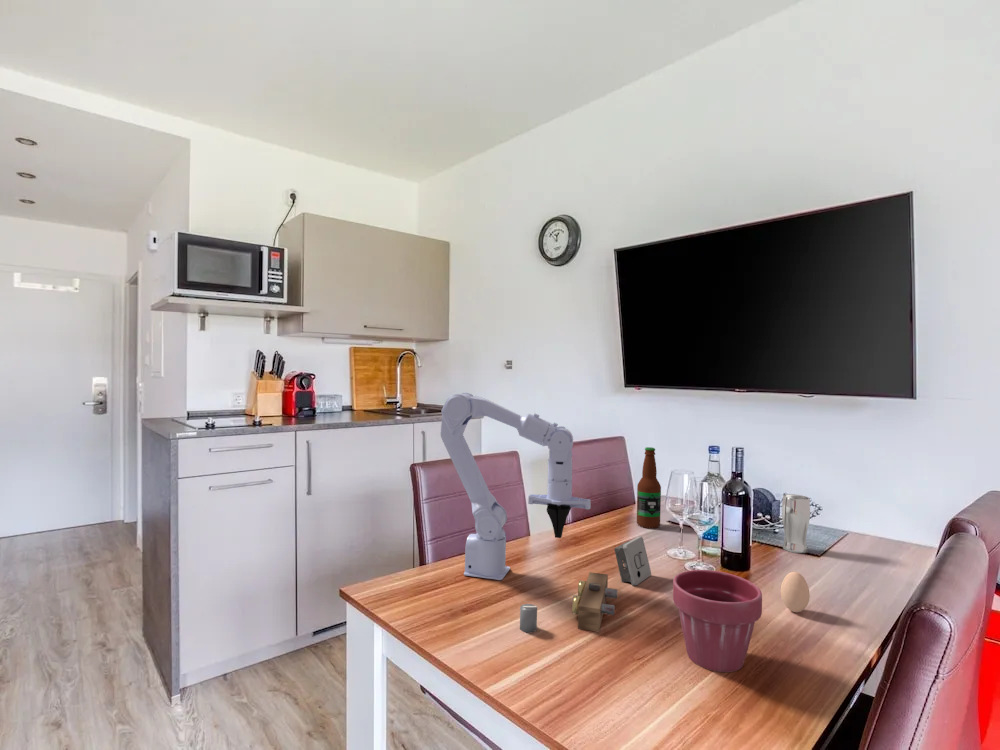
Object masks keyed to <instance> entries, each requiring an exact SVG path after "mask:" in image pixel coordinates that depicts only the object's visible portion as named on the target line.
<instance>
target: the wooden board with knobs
mask: <svg viewBox="0 0 1000 750" xmlns="http://www.w3.org/2000/svg"><path fill="white" fill-rule="evenodd" d="M608 575H609V574H607V573H600V572H591V571H589V573H588V576H587V578H586V584H585V588H584V591H583V594H582V597H581V600H580V603H579V606H578V614H577V629H580V630H585V631H592V632H598V633H599V632H600V629H601V626H602V620H603V615H604V614H603V613H601V605H602V604H606V602H607V598H608V597H605V588H608V586H609V584H608V581H609V579H608V578H609V577H608Z"/></svg>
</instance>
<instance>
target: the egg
mask: <svg viewBox="0 0 1000 750" xmlns="http://www.w3.org/2000/svg"><path fill="white" fill-rule="evenodd" d="M810 596H811V595H810V589H809V585H808V583H807V580H806V578H805V577H804V575H802V574H801V573H799V572H797V571H790V572H789V573H787V574H786V576H785V577H784V578H783V580H782V583H781V586H780V598H781V601H782V603H783V604H784V606H785V607H786V608H787V609H788V610H789V611H791V612H793V613H800V612H803V611H805V609H806V608H807V607H808V605H809V603H810V598H811V597H810Z"/></svg>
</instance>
